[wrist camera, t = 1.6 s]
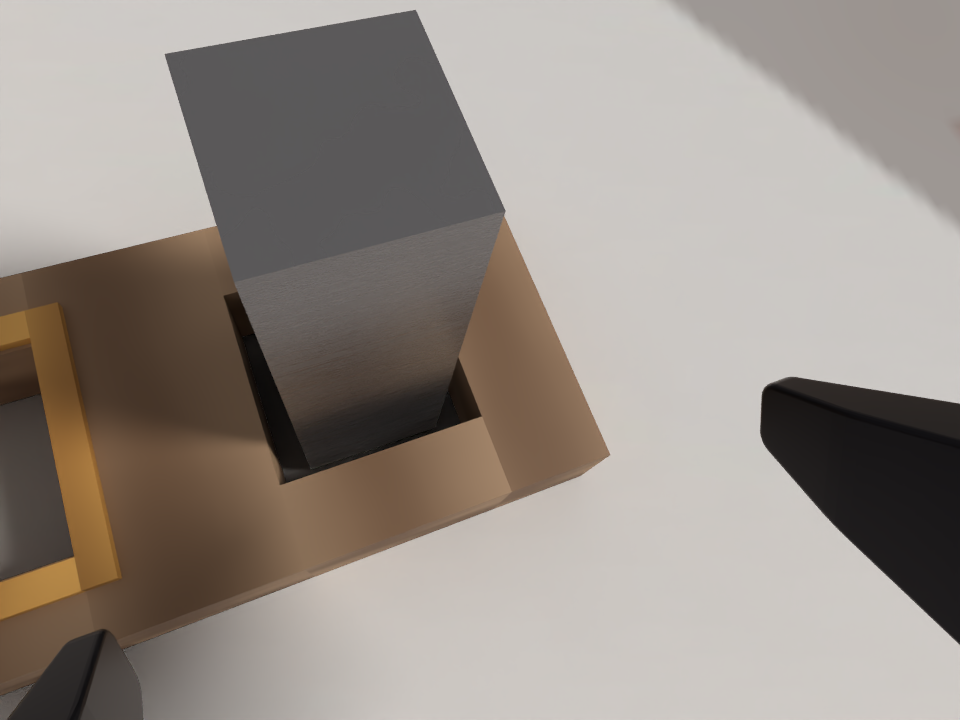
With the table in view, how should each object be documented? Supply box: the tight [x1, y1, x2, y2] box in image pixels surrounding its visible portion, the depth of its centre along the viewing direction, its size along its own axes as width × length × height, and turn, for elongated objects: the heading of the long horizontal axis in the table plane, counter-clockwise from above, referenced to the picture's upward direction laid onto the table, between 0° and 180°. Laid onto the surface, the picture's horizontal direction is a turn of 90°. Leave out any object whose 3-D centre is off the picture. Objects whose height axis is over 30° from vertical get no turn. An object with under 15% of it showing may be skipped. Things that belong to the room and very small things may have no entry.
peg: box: [165, 10, 505, 470], centre depth 16 cm, size 4×4×12 cm
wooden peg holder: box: [0, 217, 610, 696], centre depth 19 cm, size 22×10×3 cm, turn 111°
